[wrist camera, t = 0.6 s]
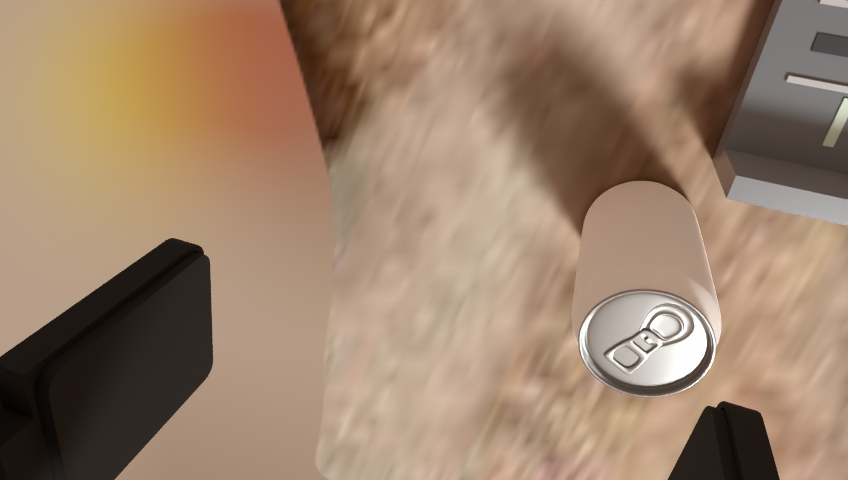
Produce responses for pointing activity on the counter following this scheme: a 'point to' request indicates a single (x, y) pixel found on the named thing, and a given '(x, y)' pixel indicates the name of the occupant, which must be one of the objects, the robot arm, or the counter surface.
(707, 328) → the can
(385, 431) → the counter surface
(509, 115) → the counter surface
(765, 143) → the console
